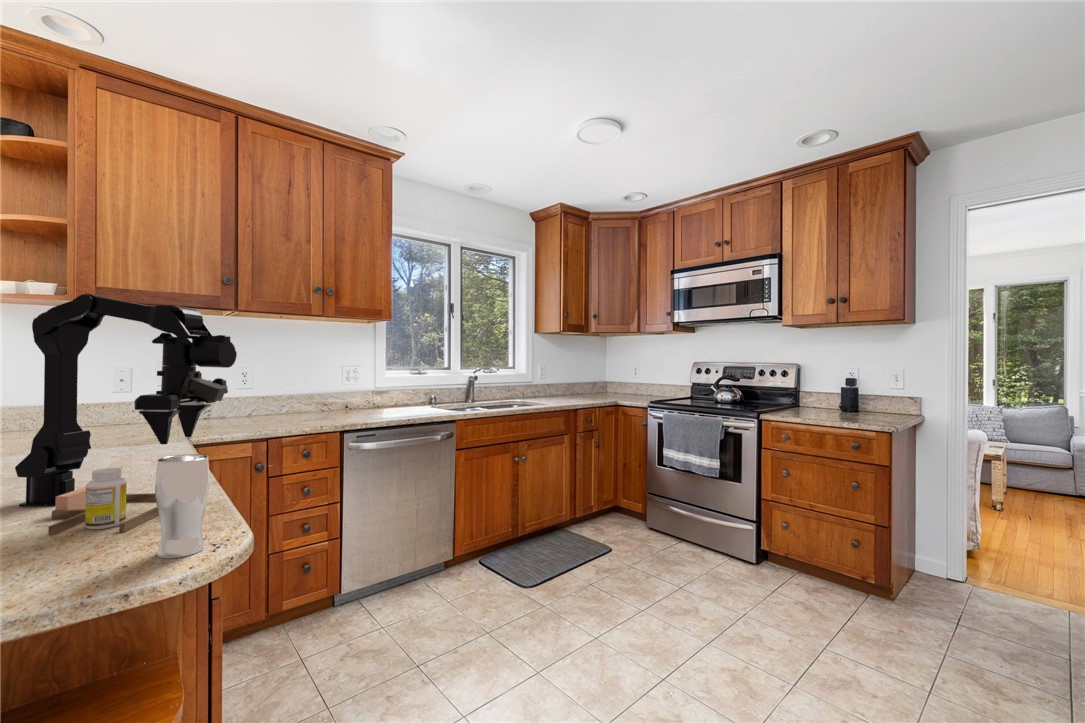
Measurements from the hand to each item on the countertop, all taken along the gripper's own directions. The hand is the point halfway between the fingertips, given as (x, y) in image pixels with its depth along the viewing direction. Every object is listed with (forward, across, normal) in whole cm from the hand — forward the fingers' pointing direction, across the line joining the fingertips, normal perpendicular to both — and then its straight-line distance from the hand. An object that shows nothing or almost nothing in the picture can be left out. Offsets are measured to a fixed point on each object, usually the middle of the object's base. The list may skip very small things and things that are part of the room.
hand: (176, 440), depth 101 cm
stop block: (+14, -1, +16) cm, 21 cm away
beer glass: (+14, -27, -14) cm, 33 cm away
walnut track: (+14, -6, +8) cm, 17 cm away
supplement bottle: (+14, -12, +5) cm, 19 cm away
